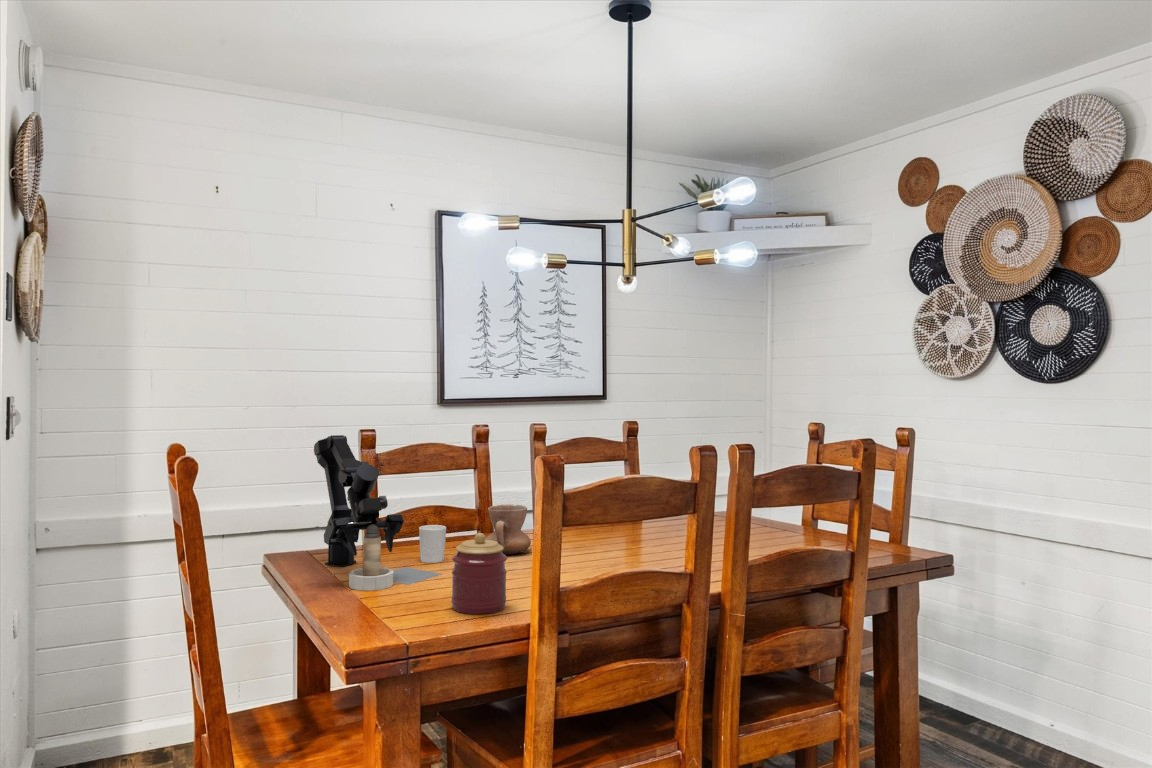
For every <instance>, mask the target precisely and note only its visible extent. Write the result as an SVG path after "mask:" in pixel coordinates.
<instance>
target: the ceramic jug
mask: <svg viewBox="0 0 1152 768" xmlns="http://www.w3.org/2000/svg"><path fill="white" fill-rule="evenodd" d="M487 512H488V517H489V520H490V521H491V524H492V527H493V529H494V531H493V532H492V533H490V534H489V535H488V536H486V537H485V538H486V540H493V541H496V542H498V544H500V545H501V546H503V547H504V549H503V550H502V553H503V554H504V555H515V554H516V553H517V554H522V553H524V552H525V551H527V550H528V549H529V548H530V546H531V545H532V544H531V537H530V536H529V535H527V533H525V532H524V531H522V529H523V526H524V524H525V520H526V517H527V513H528V506H526V505H522V504H515V505H514V504H512V503H510V504H509V503H507V504H506V503H505V504H503V503H502V504H495V505H491V506H489V507H488V508H487Z"/></svg>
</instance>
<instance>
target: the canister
mask: <svg viewBox="0 0 1152 768" xmlns="http://www.w3.org/2000/svg"><path fill="white" fill-rule="evenodd" d="M486 538H487V537H486V535H485V534H484V533H482V532H477V533H476V534H475V535H474V539H468V540H465V541H462V542H461V544H459V545H457V546H456V547H455V550H456V551H457V552H456V553H455V554H454V555H453V556H452V558H451V559H452V561H453V562H454V563H453V565H454V566H453V569H452V571H451V575H452V583H451V584H452V589H451V590H452V591H451V601H450V602H451V607H452V609H453V610H454V611H456V612H459V613H463V614H470V615H484V614H492V613H498V612H500V611H502V610H504V609H505V607H506V603H507V595H506V592H507V591H506V588H507V586H506V585H507V573H508V571H507V569H506V566H505V563H506V561H507V559H508V557H507V554H503V553H502V550H503V549H504V547H503V546H501V545H500V544H498V542H496V541H493V540H486Z"/></svg>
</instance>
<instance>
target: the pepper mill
mask: <svg viewBox="0 0 1152 768" xmlns="http://www.w3.org/2000/svg"><path fill="white" fill-rule="evenodd" d="M380 534H381V533H380V532H379V529H378V527H377V526H376V525H374V524H371V525H369V526H368V527H367V530H366V532H365V534H364V535H365V536H363V546H362V547H363V550H362V551H363V552H362V554H363V555H362V568H363V576H380V567H381V555H382V536H380Z"/></svg>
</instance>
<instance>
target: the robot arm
mask: <svg viewBox="0 0 1152 768" xmlns="http://www.w3.org/2000/svg"><path fill="white" fill-rule="evenodd" d="M313 453H314V454H313V455H314V456H316V461H317V464H318V465H319V466H320V467H321V468H323V470H324V474H325V479H326V486H327V491H328V493H327V494H328V497H329V503H330V510H331V514H330V516H329V518H328V521H327V525H326V528H325V530H324V534H323V543H325V544H326V545H328V548H327V549H328V551H327V553H328V554H327V555H328V556H327V557H328V558H327V561H326V562H325V563H324V565H325V566H334V567H335V566H336V567H345V566H350V565H352V564H355V563H357V560H355V557H356V556H357V554H358V552H357V551H358V550H357V547H356V544H355V543H358V542H359V541H358V540H359V535H360V530H361V531H367V527H368V526H369V525H371V524H374V525H376V526H377V527H378V530H379V529H383V532H384V535H383V536H384V540H385V544H386V546H387V549H388V552H389V553H392V551H393V544H394V538H395V536H396V535H397V534H399V533H400V531H401V529H402V528H403V524H404V523H405V520H404V516H403V515H402V514H401V513H392V514H391V513H389V514H387V515H386V517H385V520H384V519H383V520H378V519H377V518H379V517H380V512H381V511H382V510H385V509H387V508H388V500H387V496H386V495H379V496H378V497H373V498H372V496H371V492H373V490H374V488H375V486H376V483H377V481H378V478H379V475H380V473H379V472H380V471H379V469H378V468H377V467H376V466H374V465H371V464H370V463H369V461H360V460H357V459H356V457H355V455H354V454H353V450H351V447H350V445H349V443H348V438H347V436H346V435H344V434H343V435H340V434H339V435H334V434H333V435H330V436H327V437H326V438H323V439H319V440H318V441H316V443H314V445H313ZM346 488H348V489H347V491H346ZM346 493H347V494H346ZM348 501H349V502H348ZM348 503H349V505H350V507H349V505H348Z"/></svg>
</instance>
